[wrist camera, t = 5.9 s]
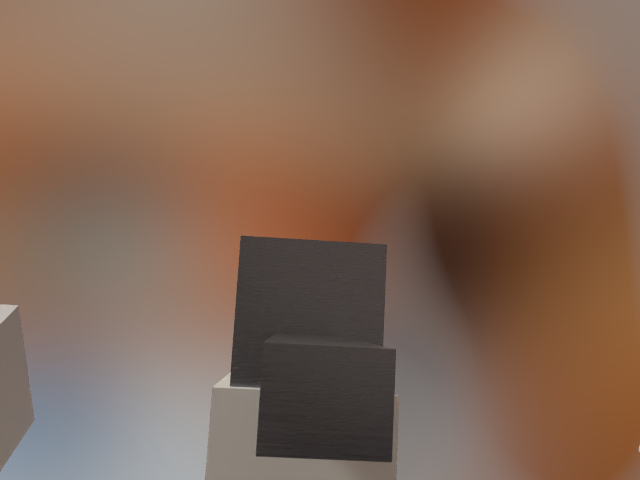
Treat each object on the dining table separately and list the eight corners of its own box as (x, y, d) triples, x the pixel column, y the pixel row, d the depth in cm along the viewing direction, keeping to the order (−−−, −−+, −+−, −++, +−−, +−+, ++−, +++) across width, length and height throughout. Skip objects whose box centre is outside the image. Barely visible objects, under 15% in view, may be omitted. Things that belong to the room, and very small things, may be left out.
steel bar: (167, 452, 9) (193, 148, 10) (242, 372, 25) (251, 254, 25) (477, 466, 10) (481, 168, 10) (360, 378, 25) (365, 261, 26)
